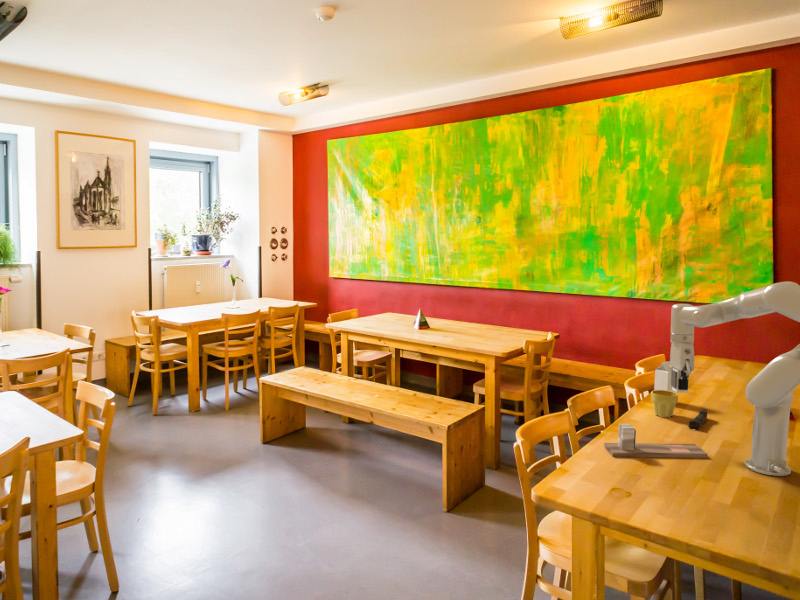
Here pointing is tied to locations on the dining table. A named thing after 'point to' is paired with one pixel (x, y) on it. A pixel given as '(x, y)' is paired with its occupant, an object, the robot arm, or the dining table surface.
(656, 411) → the plant pot
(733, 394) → the dining table surface
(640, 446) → the rail
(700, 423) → the hand tool
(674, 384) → the block
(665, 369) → the milk carton
